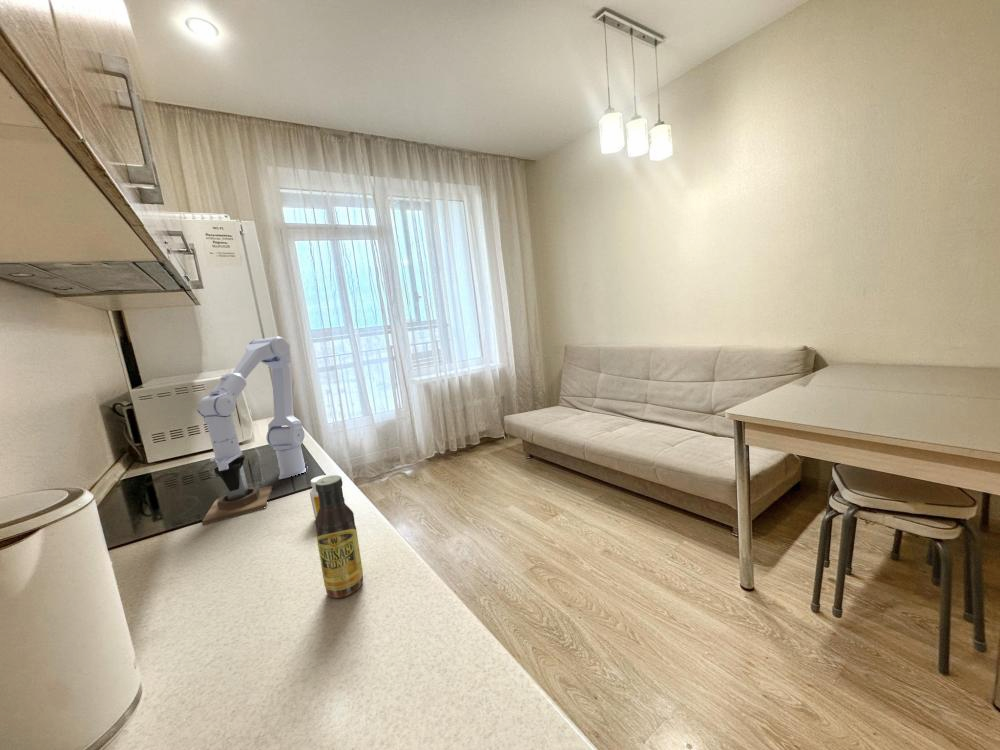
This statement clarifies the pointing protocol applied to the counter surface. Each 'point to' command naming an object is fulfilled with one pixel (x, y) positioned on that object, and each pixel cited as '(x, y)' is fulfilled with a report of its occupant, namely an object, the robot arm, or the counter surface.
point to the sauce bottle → (337, 540)
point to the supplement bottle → (315, 495)
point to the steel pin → (242, 489)
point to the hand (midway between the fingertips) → (236, 486)
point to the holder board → (238, 505)
